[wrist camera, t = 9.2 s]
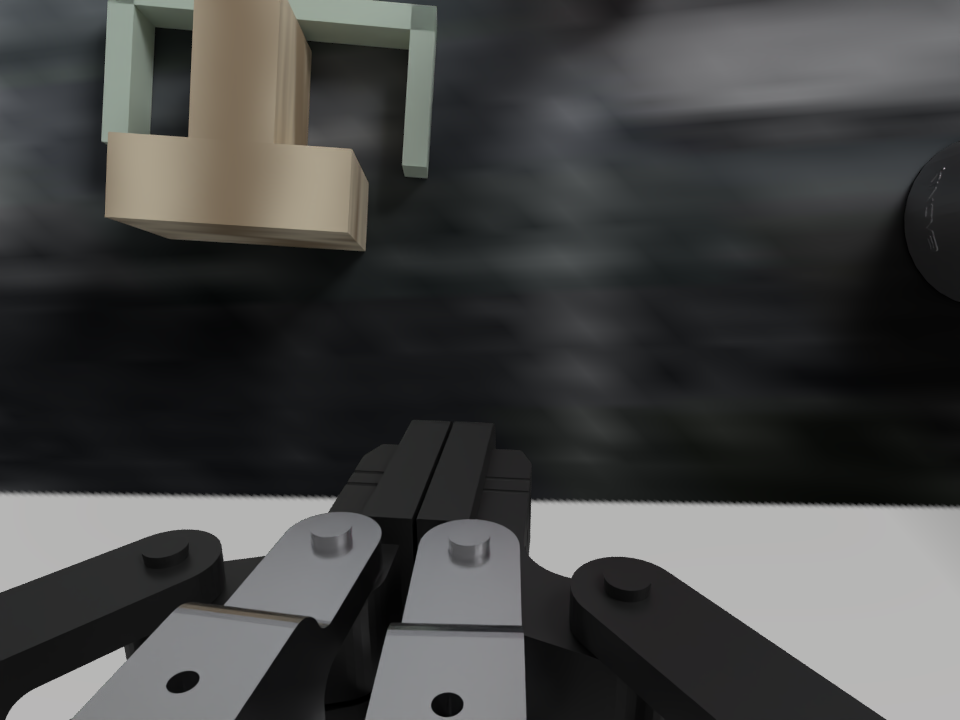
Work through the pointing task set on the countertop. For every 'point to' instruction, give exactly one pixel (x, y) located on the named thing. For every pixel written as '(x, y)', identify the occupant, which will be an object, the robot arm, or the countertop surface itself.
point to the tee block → (242, 145)
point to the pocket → (322, 18)
